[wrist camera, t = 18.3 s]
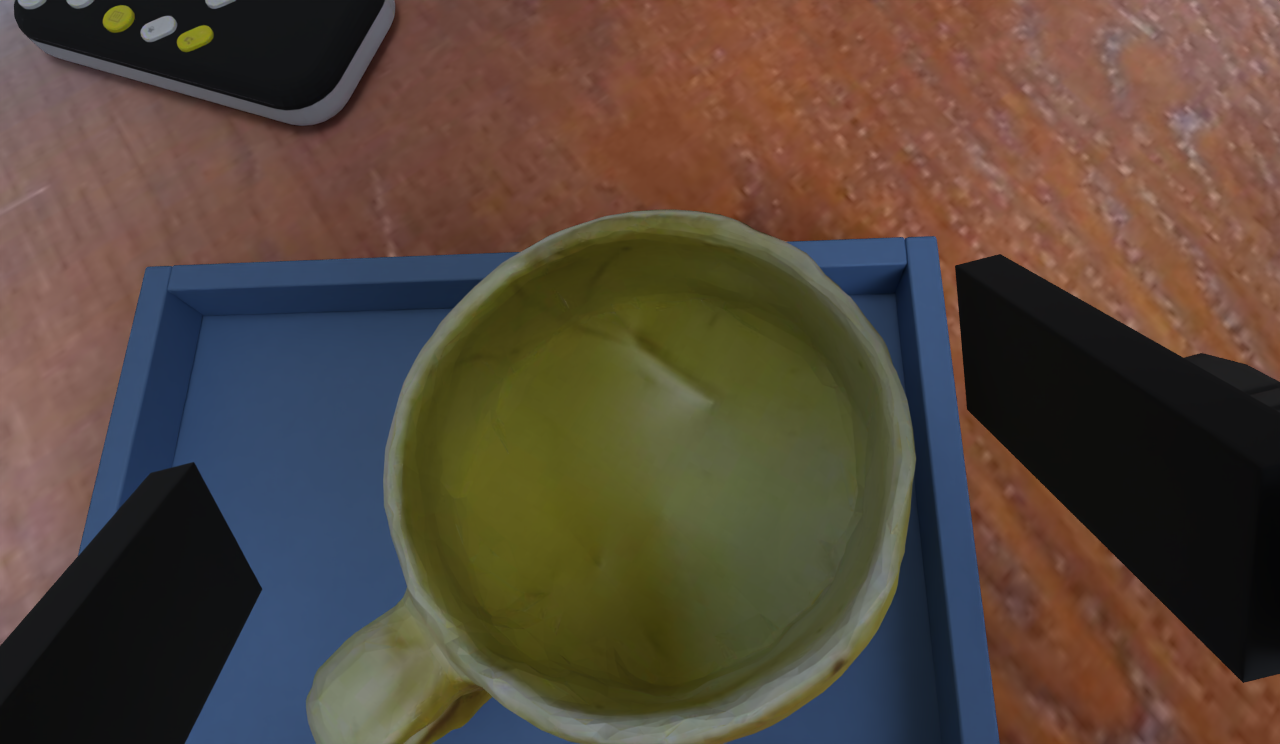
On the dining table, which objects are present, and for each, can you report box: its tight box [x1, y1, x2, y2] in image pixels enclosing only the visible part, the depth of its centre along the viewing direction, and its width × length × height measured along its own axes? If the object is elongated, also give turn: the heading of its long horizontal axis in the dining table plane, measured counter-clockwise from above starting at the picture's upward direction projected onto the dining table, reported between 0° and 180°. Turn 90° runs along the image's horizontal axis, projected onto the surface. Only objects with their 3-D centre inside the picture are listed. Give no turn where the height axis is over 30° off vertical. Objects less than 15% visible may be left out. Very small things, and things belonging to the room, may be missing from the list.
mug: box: [306, 210, 916, 744], centre depth 18 cm, size 12×10×10 cm
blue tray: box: [78, 236, 1000, 744], centre depth 20 cm, size 22×22×2 cm
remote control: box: [14, 0, 395, 126], centre depth 29 cm, size 6×13×2 cm, turn 69°
